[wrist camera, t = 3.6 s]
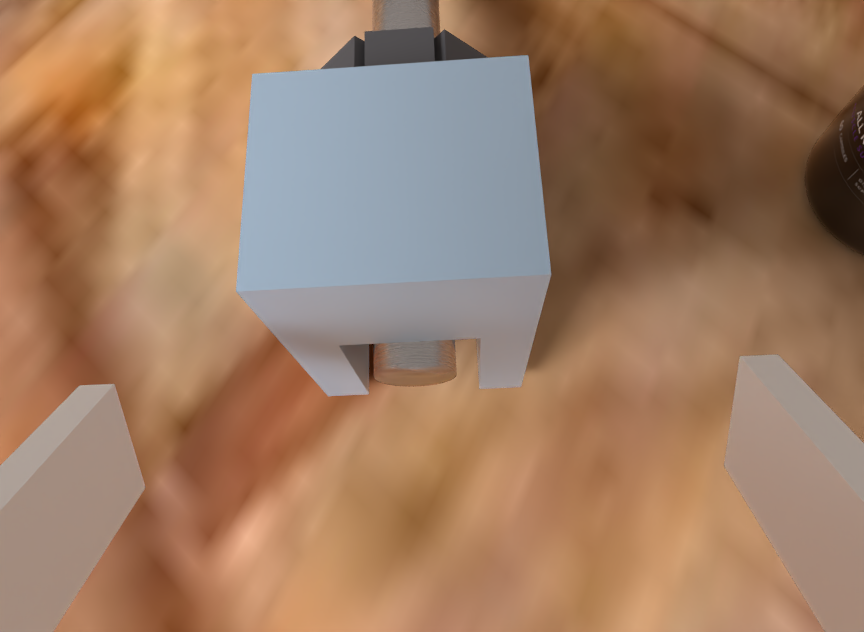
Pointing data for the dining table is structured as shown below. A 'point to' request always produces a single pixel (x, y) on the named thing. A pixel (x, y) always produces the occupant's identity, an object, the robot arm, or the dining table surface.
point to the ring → (402, 48)
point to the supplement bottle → (840, 175)
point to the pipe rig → (425, 360)
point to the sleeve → (395, 214)
